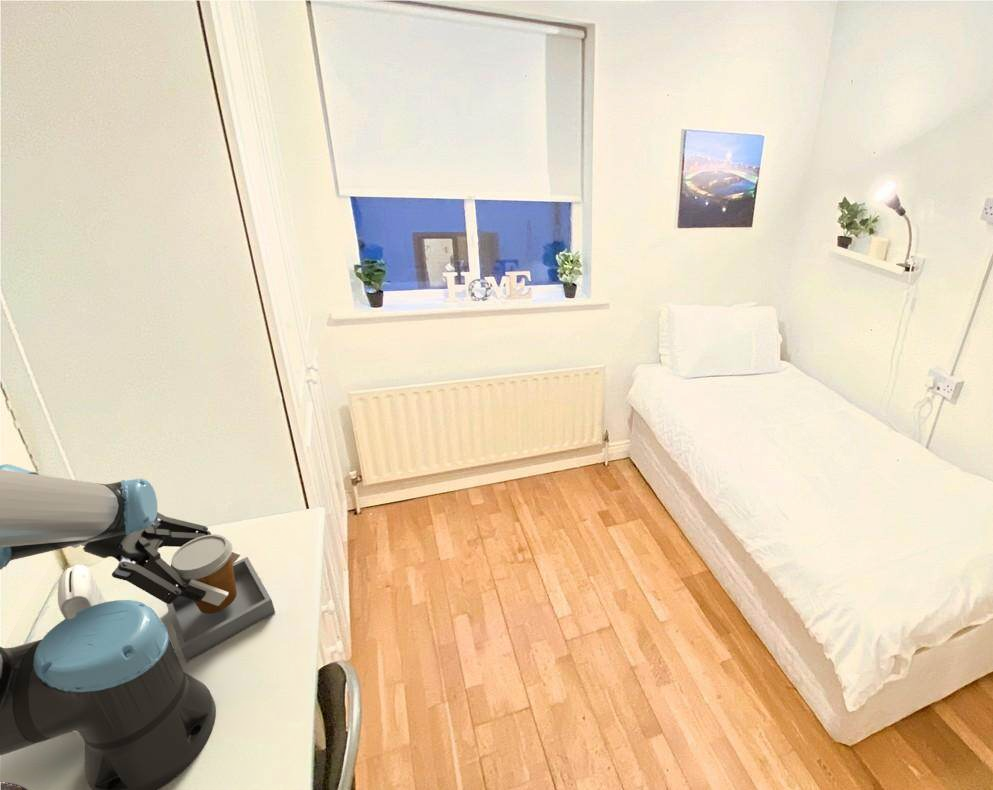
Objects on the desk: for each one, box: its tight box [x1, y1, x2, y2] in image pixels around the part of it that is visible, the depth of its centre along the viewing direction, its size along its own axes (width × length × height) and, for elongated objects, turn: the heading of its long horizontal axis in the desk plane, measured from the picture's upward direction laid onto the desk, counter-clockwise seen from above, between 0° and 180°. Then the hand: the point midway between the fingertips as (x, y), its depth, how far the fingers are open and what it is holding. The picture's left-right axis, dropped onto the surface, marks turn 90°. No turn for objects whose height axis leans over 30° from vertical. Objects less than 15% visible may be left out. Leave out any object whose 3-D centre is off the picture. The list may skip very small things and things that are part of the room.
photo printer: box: [57, 564, 107, 620], centre depth 81 cm, size 10×4×12 cm, turn 39°
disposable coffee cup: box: [169, 533, 237, 614], centre depth 82 cm, size 10×10×12 cm
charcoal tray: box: [166, 556, 276, 663], centre depth 85 cm, size 15×15×4 cm
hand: (230, 577), depth 84 cm, fingers closed on disposable coffee cup, 9 cm apart
